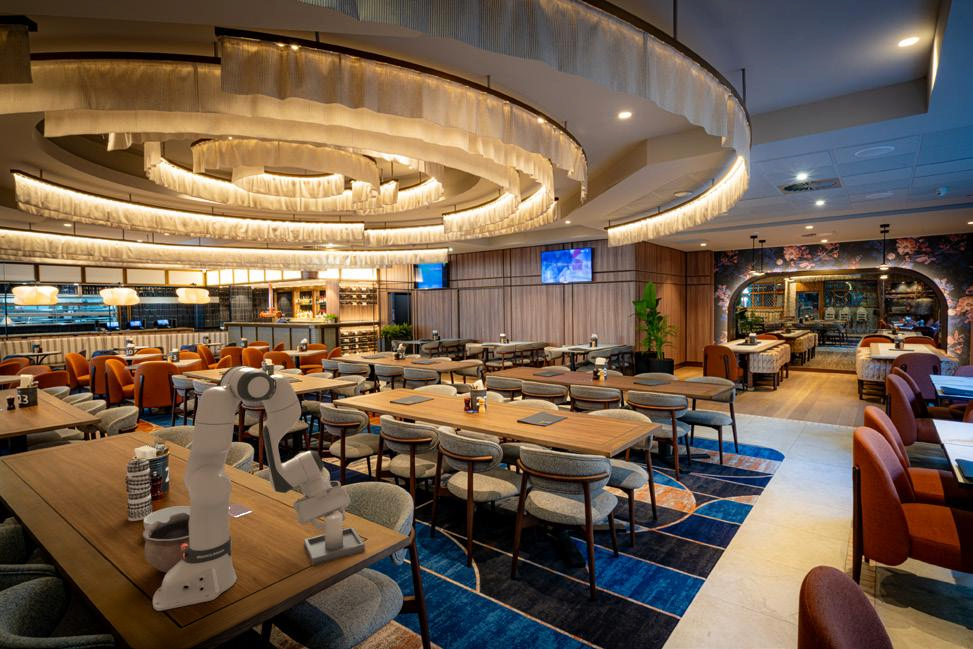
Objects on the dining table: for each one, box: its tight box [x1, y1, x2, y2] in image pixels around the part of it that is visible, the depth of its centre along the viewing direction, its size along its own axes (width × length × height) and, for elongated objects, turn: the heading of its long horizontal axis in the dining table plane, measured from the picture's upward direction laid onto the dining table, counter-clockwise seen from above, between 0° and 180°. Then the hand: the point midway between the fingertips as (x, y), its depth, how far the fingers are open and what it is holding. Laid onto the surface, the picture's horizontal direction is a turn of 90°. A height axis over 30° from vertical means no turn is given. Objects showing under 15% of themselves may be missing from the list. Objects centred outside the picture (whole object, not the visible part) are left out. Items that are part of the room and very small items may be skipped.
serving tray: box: [303, 526, 366, 566], centre depth 171 cm, size 18×16×2 cm
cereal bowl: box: [143, 505, 190, 530], centre depth 187 cm, size 17×17×7 cm
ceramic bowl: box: [142, 513, 190, 573], centre depth 161 cm, size 22×22×15 cm
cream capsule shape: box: [323, 512, 344, 550], centre depth 171 cm, size 6×6×11 cm
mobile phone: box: [229, 502, 253, 519], centre depth 206 cm, size 8×1×15 cm
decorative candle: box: [125, 457, 153, 522], centre depth 201 cm, size 9×9×25 cm
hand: (333, 524), depth 171 cm, fingers open, 8 cm apart
